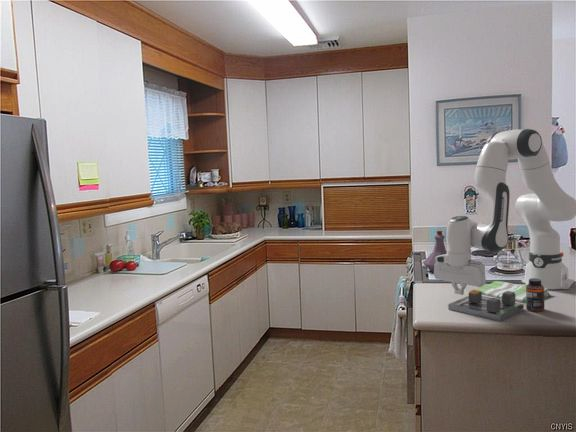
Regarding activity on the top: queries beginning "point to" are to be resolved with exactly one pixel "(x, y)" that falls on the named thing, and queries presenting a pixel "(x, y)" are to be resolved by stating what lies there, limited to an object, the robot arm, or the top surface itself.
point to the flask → (436, 251)
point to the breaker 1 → (493, 305)
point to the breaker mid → (475, 296)
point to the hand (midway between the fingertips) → (459, 293)
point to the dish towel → (500, 287)
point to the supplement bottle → (535, 295)
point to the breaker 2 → (508, 298)
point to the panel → (485, 308)
